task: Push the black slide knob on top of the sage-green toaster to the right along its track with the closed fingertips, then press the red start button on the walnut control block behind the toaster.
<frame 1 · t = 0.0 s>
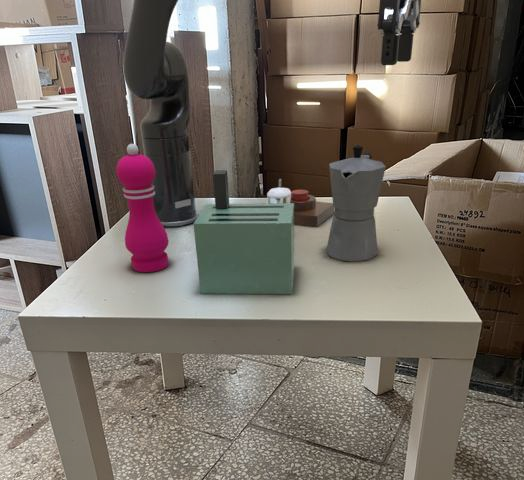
hand: (396, 63, 79), 29 cm above the table, tool pointing down, fingers open, 8 cm apart
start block: (299, 216, 111), on the table
start button: (299, 195, 109), point 4 cm above the table, slide at 0.1 cm
toaster: (249, 280, 83), on the table
coffeepot: (353, 251, 93), on the table
slide button: (221, 189, 79), point 14 cm above the table, slide at 0.0 cm
milkshake: (280, 235, 102), on the table
pepper mill: (150, 266, 90), on the table
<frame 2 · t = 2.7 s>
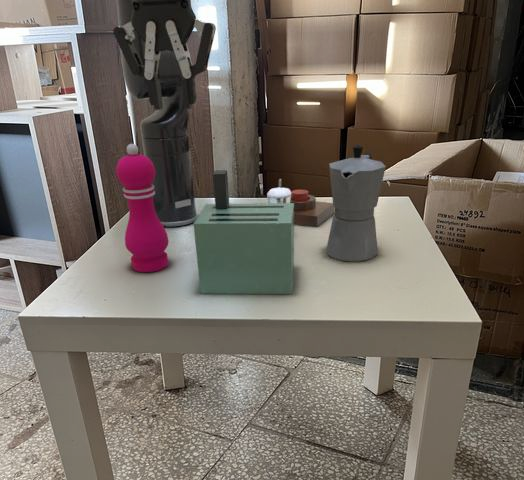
hand: (173, 108, 74), 25 cm above the table, tool pointing down, fingers open, 3 cm apart
nothing on the table moved.
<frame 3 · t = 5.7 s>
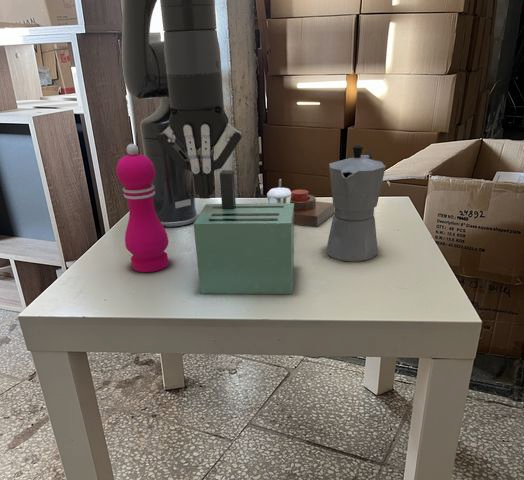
hand: (205, 197, 80), 13 cm above the table, tool pointing down, fingers closed
slide button: (227, 189, 79), point 14 cm above the table, slide at 1.0 cm, touching gripper
everything else where it was.
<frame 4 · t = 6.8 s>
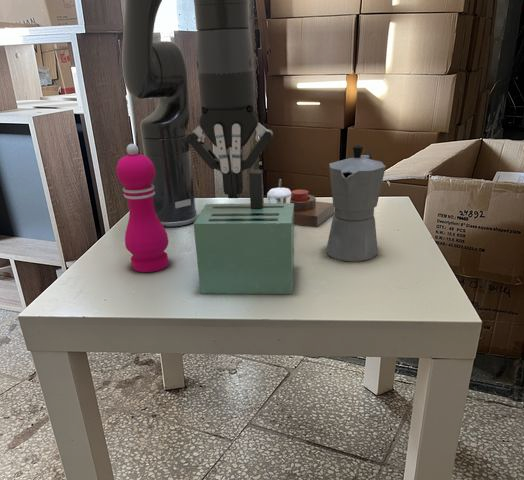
hand: (233, 196, 79), 13 cm above the table, tool pointing down, fingers closed
slide button: (256, 189, 79), point 14 cm above the table, slide at 5.4 cm, touching gripper
everything else where it was.
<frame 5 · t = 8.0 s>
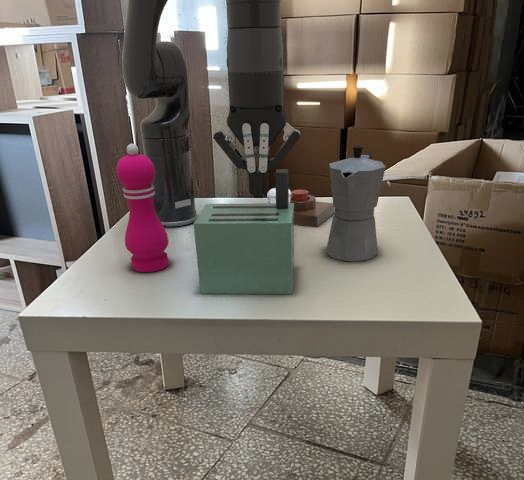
hand: (258, 196, 79), 13 cm above the table, tool pointing down, fingers closed
slide button: (282, 188, 78), point 14 cm above the table, slide at 9.3 cm, touching gripper
everything else where it was.
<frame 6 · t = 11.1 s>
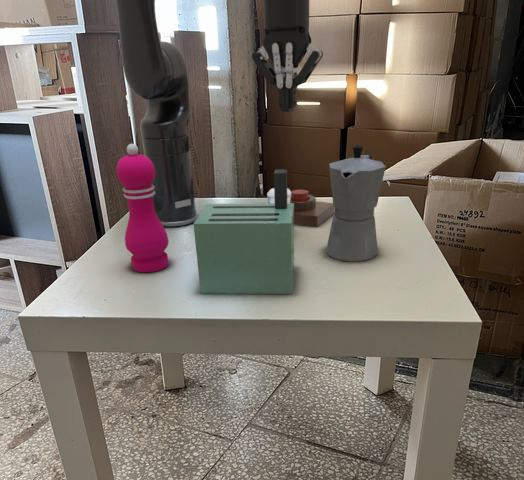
hand: (287, 111, 93), 22 cm above the table, tool pointing down, fingers closed
slide button: (280, 188, 78), point 14 cm above the table, slide at 9.1 cm
everything else where it was.
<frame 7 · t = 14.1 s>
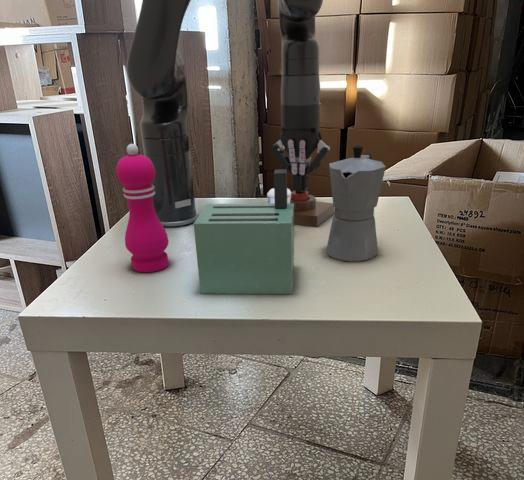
hand: (300, 192, 108), 5 cm above the table, tool pointing down, fingers closed
start button: (299, 196, 109), point 4 cm above the table, slide at 0.0 cm, touching gripper
everything else where it was.
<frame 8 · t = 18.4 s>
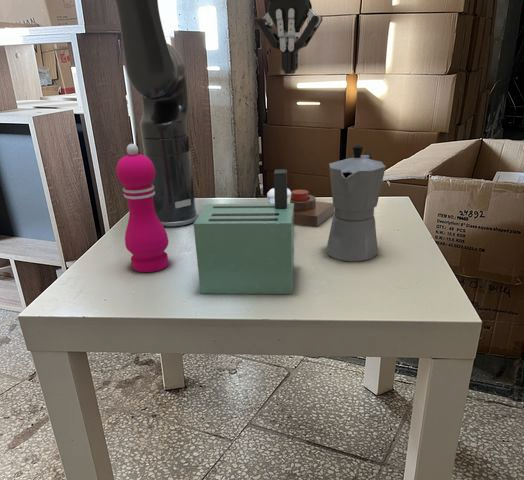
hand: (289, 73, 102), 27 cm above the table, tool pointing down, fingers closed
start button: (299, 195, 109), point 4 cm above the table, slide at 0.1 cm
everything else where it was.
at the end: slide button slide at 9.1 cm; start button pushed in 1.2 cm at the most during the clip, back to where it started at the end; start button slide at 0.1 cm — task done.
